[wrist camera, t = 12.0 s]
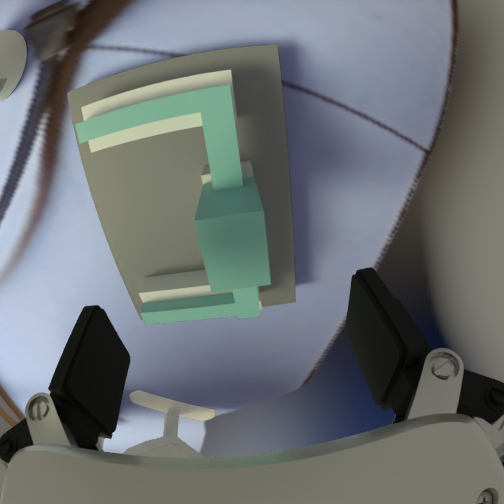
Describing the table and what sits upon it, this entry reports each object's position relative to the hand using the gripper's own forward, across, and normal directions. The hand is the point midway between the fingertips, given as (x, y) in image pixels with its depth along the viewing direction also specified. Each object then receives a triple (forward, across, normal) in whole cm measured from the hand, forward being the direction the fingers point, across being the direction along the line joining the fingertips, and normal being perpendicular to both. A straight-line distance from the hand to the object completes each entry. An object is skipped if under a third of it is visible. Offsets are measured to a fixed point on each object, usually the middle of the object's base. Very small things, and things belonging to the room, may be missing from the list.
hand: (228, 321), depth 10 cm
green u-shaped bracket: (+9, +3, 0) cm, 9 cm away
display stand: (+13, +2, -1) cm, 13 cm away
